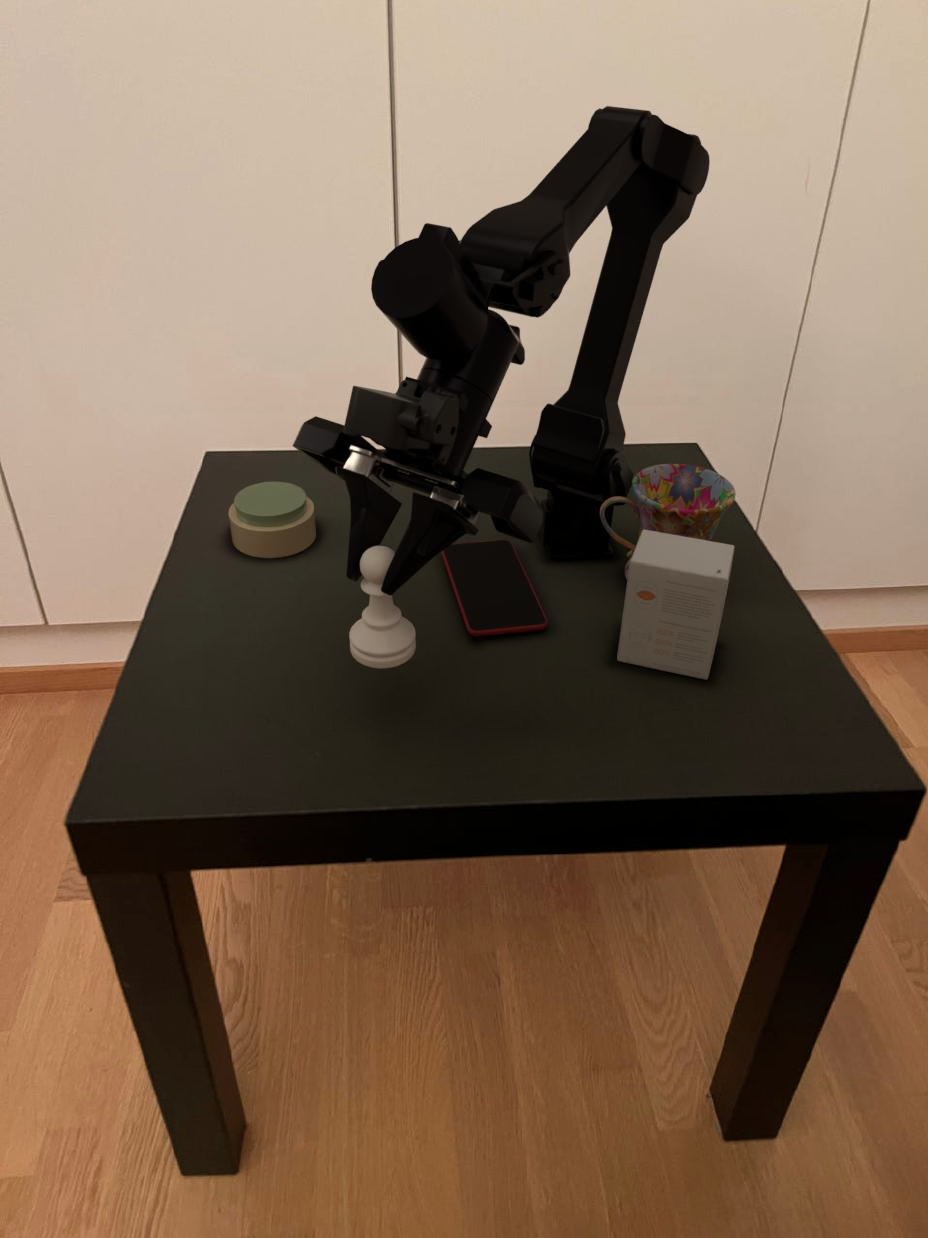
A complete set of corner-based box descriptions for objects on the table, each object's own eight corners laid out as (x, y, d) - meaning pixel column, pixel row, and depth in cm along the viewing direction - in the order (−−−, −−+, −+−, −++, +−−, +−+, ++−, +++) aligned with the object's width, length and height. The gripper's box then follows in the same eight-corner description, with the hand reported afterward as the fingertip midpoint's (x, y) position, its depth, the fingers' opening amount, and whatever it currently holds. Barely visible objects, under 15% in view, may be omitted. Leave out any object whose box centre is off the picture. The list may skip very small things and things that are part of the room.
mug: (704, 558, 96) (723, 463, 90) (724, 611, 89) (746, 512, 83) (587, 556, 96) (597, 461, 90) (596, 608, 89) (609, 509, 83)
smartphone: (469, 633, 84) (439, 544, 96) (469, 641, 84) (439, 552, 96) (550, 624, 85) (510, 538, 97) (549, 632, 86) (510, 545, 97)
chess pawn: (345, 634, 74) (338, 534, 68) (409, 625, 75) (406, 527, 69) (355, 674, 70) (348, 572, 64) (422, 664, 71) (420, 563, 66)
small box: (715, 645, 85) (738, 544, 78) (707, 682, 80) (730, 579, 74) (627, 626, 87) (642, 526, 81) (614, 662, 82) (629, 559, 76)
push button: (316, 514, 102) (313, 476, 100) (316, 556, 95) (312, 517, 93) (235, 517, 101) (230, 479, 99) (228, 560, 94) (223, 521, 92)
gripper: (297, 306, 65) (203, 512, 64) (532, 366, 57) (428, 602, 56) (373, 379, 75) (292, 558, 74) (582, 438, 67) (494, 640, 66)
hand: (368, 586), depth 67 cm, fingers closed on chess pawn, 3 cm apart
